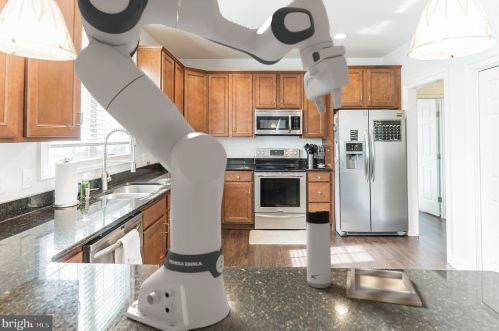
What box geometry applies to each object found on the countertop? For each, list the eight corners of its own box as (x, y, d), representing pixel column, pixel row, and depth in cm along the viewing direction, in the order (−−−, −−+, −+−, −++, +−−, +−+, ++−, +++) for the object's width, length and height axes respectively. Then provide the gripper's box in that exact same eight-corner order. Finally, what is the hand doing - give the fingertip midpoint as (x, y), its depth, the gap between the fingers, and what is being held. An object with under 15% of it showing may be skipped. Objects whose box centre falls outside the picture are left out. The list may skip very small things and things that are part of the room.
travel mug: (314, 290, 75) (313, 212, 75) (303, 280, 82) (302, 208, 81) (336, 287, 77) (335, 210, 77) (323, 278, 83) (322, 207, 83)
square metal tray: (346, 297, 71) (346, 287, 71) (347, 273, 86) (347, 265, 86) (421, 306, 66) (421, 296, 66) (409, 279, 81) (408, 271, 81)
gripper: (295, 72, 88) (305, 117, 89) (323, 48, 68) (335, 108, 69) (314, 67, 89) (324, 113, 90) (348, 43, 69) (360, 102, 70)
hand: (329, 110), depth 79 cm, fingers open, 8 cm apart
